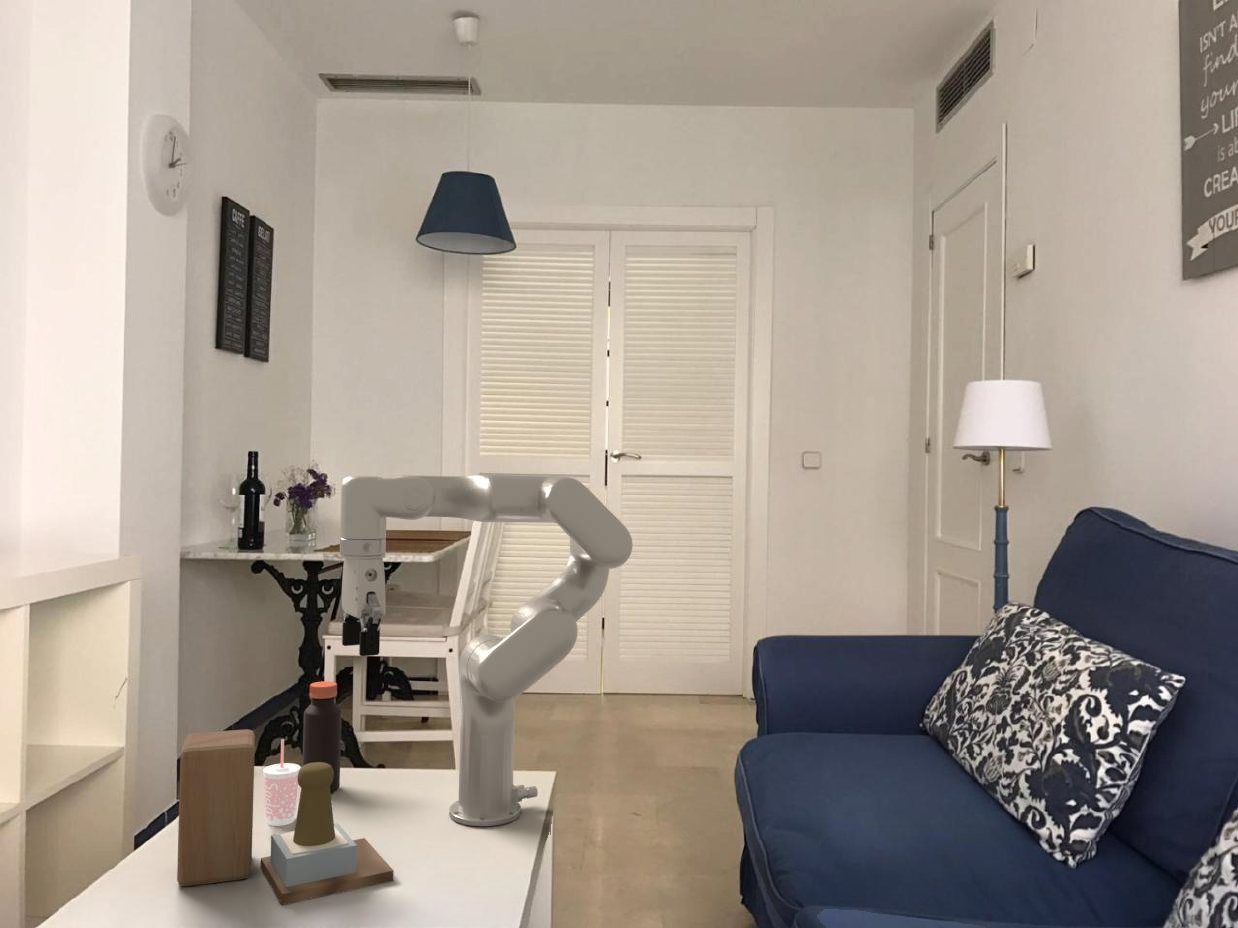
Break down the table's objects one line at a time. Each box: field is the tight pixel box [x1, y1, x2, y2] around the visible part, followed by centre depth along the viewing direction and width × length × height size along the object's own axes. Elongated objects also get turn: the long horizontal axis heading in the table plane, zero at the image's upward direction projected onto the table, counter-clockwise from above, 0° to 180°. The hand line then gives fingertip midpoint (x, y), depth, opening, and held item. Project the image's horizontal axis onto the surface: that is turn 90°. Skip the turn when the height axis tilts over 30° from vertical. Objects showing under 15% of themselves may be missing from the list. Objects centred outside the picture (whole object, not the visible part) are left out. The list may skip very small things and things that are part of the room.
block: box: [176, 728, 256, 887], centre depth 142 cm, size 10×10×20 cm
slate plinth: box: [270, 822, 357, 887], centre depth 141 cm, size 10×10×4 cm
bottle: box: [302, 680, 343, 794], centre depth 178 cm, size 7×7×20 cm
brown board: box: [259, 837, 394, 906], centre depth 142 cm, size 16×14×2 cm
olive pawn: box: [293, 762, 335, 846], centre depth 141 cm, size 6×6×11 cm
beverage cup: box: [262, 738, 302, 827], centre depth 162 cm, size 6×6×14 cm
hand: (360, 649), depth 159 cm, fingers open, 9 cm apart
